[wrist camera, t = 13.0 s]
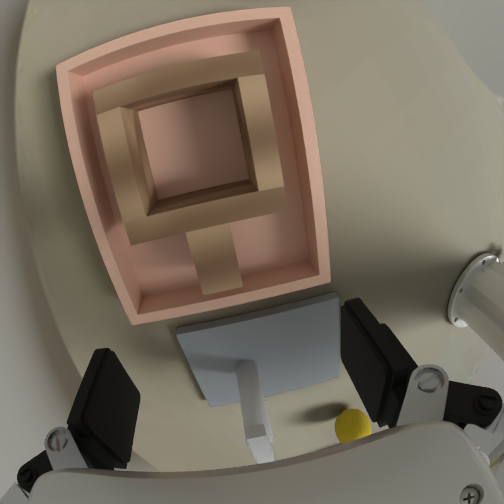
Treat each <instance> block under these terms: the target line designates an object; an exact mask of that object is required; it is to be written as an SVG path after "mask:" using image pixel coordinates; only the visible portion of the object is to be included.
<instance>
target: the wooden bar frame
mask: <svg viewBox="0 0 504 504" xmlns="http://www.w3.org/2000/svg"><path fill="white" fill-rule="evenodd" d="M230 89H232V92H233V97H234V102H235V107H236V112H237V118H238V123H239V128H240V133H241V139H242V144H243V149H244V155H245V160H246V165H247V171H248V176H249V179H247V180H242V181H237V182H233V183H228V184H223V185H219V186H214V187H210V188H205V189H201V190H196V191H192V192H188V193H184V194H180V195H176V196H172V197H168V198H164V199H160V200H159V199H158V195H157V192H156V188H155V184H154V180H153V176H152V172H151V168H150V163H149V159H148V155H147V150H146V146H145V142H144V137H143V132H142V128H141V123H140V118H139V113H138V111H142V110H145V109H148V108H152V107H155V106H159V105H162V104H166V103H170V102H174V101H178V100H182V99H186V98H190V97H195V96H199V95H204V94H209V93H214V92H219V91H224V90H230ZM93 99H94V104H95V110H96V116H97V121H98V126H99V131H100V135H101V140H102V145H103V149H104V153H105V158H106V162H107V166H108V170H109V174H110V178H111V181H112V185H113V189H114V192H115V196H116V199H117V203H118V206H119V210H120V213H121V216H122V220H123V223H124V226H125V229H126V232H127V235H128V238H129V241H130V244H131V246H132V245H136V244H140V243H144V242H148V241H152V240H157V239H161V238H165V237H169V236H173V235H178V234H182V233H186V237H187V240H188V244H189V248H190V251H191V255H192V258H193V262H194V265H195V269H196V272H197V275H198V279H199V282H200V285H201V289H202V292H203V295H207V294H212V293H217V292H222V291H226V290H231V289H235V288H240V287H243V283H242V279H241V274H240V270H239V265H238V261H237V256H236V251H235V247H234V242H233V238H232V233H231V228H230V224H229V223H231V222H235V221H240V220H245V219H249V218H254V217H259V216H264V215H268V214H273V213H278V212H283V211H288V210H287V203H286V196H285V189H284V183H283V176H282V170H281V163H280V157H279V151H278V145H277V139H276V133H275V128H274V122H273V116H272V111H271V105H270V100H269V94H268V89H267V84H266V79H265V74H264V69H263V64H262V59H261V54H260V51H251V52H243V53H236V54H229V55H223V56H217V57H211V58H206V59H201V60H196V61H191V62H187V63H183V64H178V65H174V66H170V67H166V68H163V69H159V70H155V71H152V72H149V73H145V74H142V75H139V76H136V77H132V78H129V79H126V80H123V81H121V82H118V83H115V84H112V85H109V86H107V87H104V88H102V89H99V90H96V91H94V92H93Z"/></svg>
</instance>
